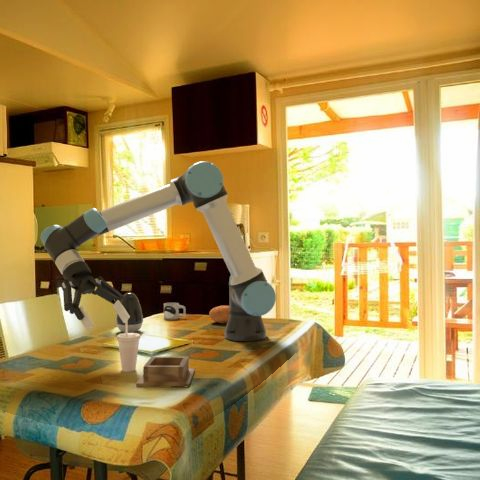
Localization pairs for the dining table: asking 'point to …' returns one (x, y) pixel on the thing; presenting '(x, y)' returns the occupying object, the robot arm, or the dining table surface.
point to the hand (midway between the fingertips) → (109, 323)
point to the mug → (173, 311)
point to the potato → (220, 314)
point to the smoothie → (128, 349)
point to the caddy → (166, 372)
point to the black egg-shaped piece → (131, 314)
